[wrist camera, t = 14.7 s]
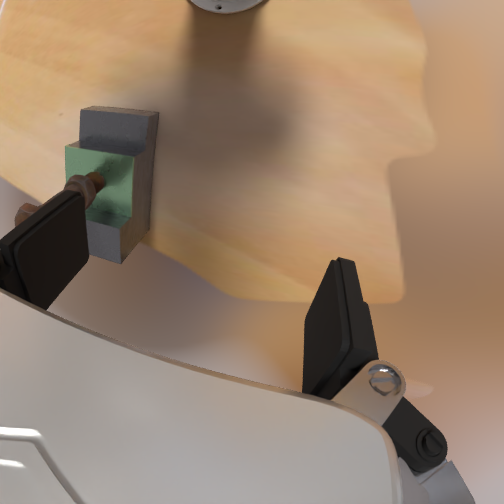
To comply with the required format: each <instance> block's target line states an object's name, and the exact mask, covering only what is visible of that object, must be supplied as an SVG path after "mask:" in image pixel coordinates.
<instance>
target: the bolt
mask: <svg viewBox="0 0 504 504" xmlns="http://www.w3.org/2000/svg"><path fill="white" fill-rule="evenodd" d="M99 174H100V173H99V172H97V171H96V172H90V173H88V174H86V175H85V176H84V175H77V174H75V175H73V176H72V177H70V178H69V180H68V181H67V183H66V185H65V187H64V190H63V191H61V192H59V193H58V194H56V195H55V196H53V197H52V198H51V199H49V200H48V201H47V202H45V203H44V204H43V205H40V206H38V207H37V206H34V205H32V204H28V203H25V204H24V205H23V206H21V207H20V208H19V210H18V212H17V214H16V217H15V226H16V227H17V226H18V225H19V224H20V223H22V222H23V221H24V220H25V219H27V218H28V217H29V216H31V215H32V214H33V213H35V212H36V211H37V210H39V209H40V208H41V207H43V206H44V205H46V204H47V203H48V202H50V201H51V200H53V199H54V198H55V197H57V196H58V195H60V194H61V193H63V192H64V191H66V190H73V191H77V192H80V193H81V194H82V197H84V200H85V210H86V209H88V208H89V207H90V205H91V204H92V203H93V201H94V199H95V198H96V194H97V193H99V192H100V191H101V190H102V189H103V187H104V177H103V176H102V175H101V176H100V175H99Z"/></svg>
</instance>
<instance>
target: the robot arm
mask: <svg viewBox="0 0 504 504" xmlns="http://www.w3.org/2000/svg"><path fill="white" fill-rule="evenodd" d="M191 1H192V2H193V3H194V4H195V5H197V6H198V7H200V8H202V9H204V10H207V11H210V12H213V13H220V14H231V13H237V12H241V11H245V10H248V9H250V8H252V7H254V6H256V5H258V4H259V3H261V2H262V1H263V0H191ZM219 7H222V8H221V9H220V10H219ZM88 259H89V248H88V238H87V227H86V214H85V200H84V197H82V194H81V193H80V192H77V191H73V190H66V191H64V192H63V193H61V194H60V195H58V196H57V197H55V198H54V199H53V200H51V201H50V202H48V203H47V204H46V205H44V206H43V207H41V208H40V209H39V210H37V211H36V212H35V213H33V214H32V215H31V216H29V217H28V218H27V219H25V220H24V221H23V222H22V223H20V224H19V225H18V226H17V227H15V228H14V229H13V230H12V231H10V232H9V233H8V234H7V235H5V236H4V237H3V238H2V239H1V240H0V504H475V501H474V498H473V496H472V495H471V493H470V491H469V490H468V488H467V486H466V484H465V483H464V481H463V479H462V477H461V476H460V474H459V472H458V470H457V469H456V467H455V466H454V464H453V462H452V461H449V462H447V460H446V458H445V457H446V455H447V442H446V439H445V437H444V435H443V434H442V433H441V432H440V431H439V430H438V429H437V428H436V427H435V426H434V425H433V424H432V423H431V422H430V421H429V420H428V419H427V418H426V417H424V415H422V414H421V413H420V412H419V411H418V410H417V409H416V408H415V407H414V406H413V405H412V404H411V403H410V402H409V401H408V400H407V399H406V398H404V397H403V395H404V393H405V391H406V382H405V378H404V376H403V374H402V373H401V371H400V370H399V369H398V368H397V367H396V366H394V365H393V364H391V363H389V362H387V361H383V360H379V358H378V352H377V346H376V341H375V336H374V331H373V325H372V320H371V316H370V311H369V307H368V304H367V303H366V302H363V297H362V293H361V288H360V283H359V279H358V275H357V270H356V266H355V262H354V261H351V260H348V259H344V258H340V257H338V258H337V260H336V261H335V260H331V262H330V264H329V266H328V268H327V271H326V273H325V275H324V277H323V280H322V282H321V284H320V286H319V289H318V291H317V293H316V295H315V298H314V300H313V302H312V304H311V306H310V309H309V311H308V313H307V315H306V319H305V324H304V325H305V328H304V361H303V364H304V365H303V386H302V393H301V392H297V391H293V390H289V389H284V388H280V387H275V386H270V385H266V384H262V383H258V382H254V381H249V380H246V379H242V378H238V377H234V376H230V375H226V374H222V373H218V372H215V371H211V370H207V369H204V368H200V367H197V366H193V365H190V364H187V363H183V362H180V361H177V360H173V359H170V358H167V357H164V356H161V355H158V354H155V353H152V352H149V351H146V350H143V349H140V348H137V347H134V346H132V345H129V344H126V343H123V342H121V341H118V340H115V339H113V338H110V337H107V336H105V335H102V334H100V333H97V332H95V331H92V330H90V329H87V328H85V327H83V326H80V325H78V324H75V323H73V322H71V321H68V320H66V319H64V318H62V317H59V316H57V315H55V314H53V313H50V312H48V311H46V310H47V309H48V308H49V306H50V305H51V304H52V303H53V301H54V300H55V299H56V298H57V297H58V295H59V294H60V293H61V292H62V291H63V289H64V288H65V287H66V286H67V285H68V283H69V282H70V281H71V280H72V279H73V278H74V276H75V275H76V274H77V273H78V272H79V271H80V270H81V268H82V267H83V266H84V265H85V264H86V263H87V261H88Z"/></svg>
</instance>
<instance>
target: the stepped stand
mask: <svg viewBox="0 0 504 504" xmlns="http://www.w3.org/2000/svg"><path fill="white" fill-rule="evenodd" d="M158 118H159V113H158V112H151V111H143V110H134V109H124V108H114V107H102V106H91V107H88V108H84V109H81V111H80V134H79V141H77V142H75V143H73V144H69V145H66V146H65V170H66V183H67V181H68V180H69V178H70V177H72V176H73V175H75V174H77V175H84V176H85V175H86V174H88V173H90V172H96V171H97V172H99V173H100V174H99V175H100V176H101V175H102V176H103V177H104V187H103V189H102V190H101V191H100V192H99V193H97V194H96V198H95V199H94V201H93V203H92V204H91V205H90V207H89V208H88V209H86V210H85V214H86V227H87V238H88V248H89V254H90V255H93V256H97V257H100V258H103V259H106V260H109V261H113V262H116V263H119V264H121V263H122V262H123V261H124V260H125V259H126V257H127V256H128V255H129V253H130V252H131V251H132V250H133V248H134V247H135V246H136V245H137V244H138V242H139V241H140V240H141V239H142V238H143V236H144V235H145V234H146V233H147V232H148V230H149V224H150V204H151V188H152V175H153V163H154V153H155V143H156V134H157V126H158Z"/></svg>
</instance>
